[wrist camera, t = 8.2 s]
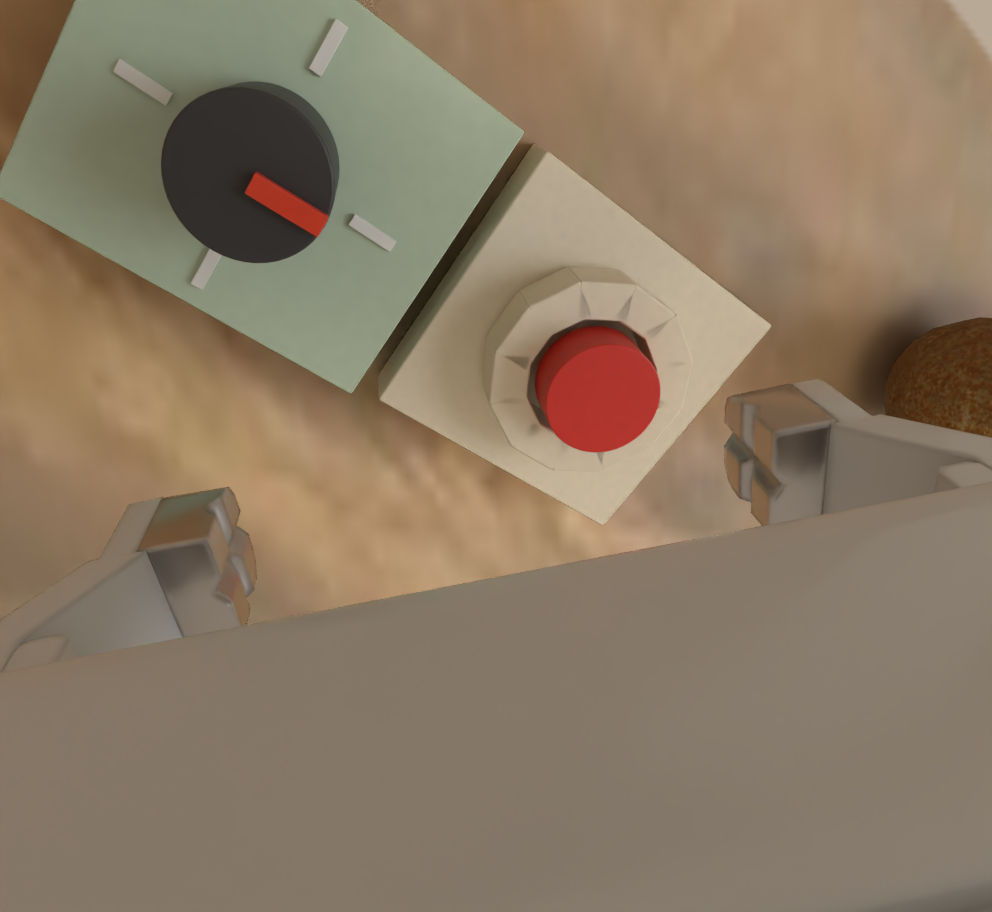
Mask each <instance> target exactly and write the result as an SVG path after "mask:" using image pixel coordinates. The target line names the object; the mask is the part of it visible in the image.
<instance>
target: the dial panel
mask: <svg viewBox="0 0 992 912" xmlns="http://www.w3.org/2000/svg"><path fill="white" fill-rule="evenodd" d="M243 82H266V83H272V84H275V85H279V86H282V87H284V88H286V89H289V90H291V91H293V92H294V93H296V94H298V95H299V96H301V97H302V98H303V99H305V100H306V101H307V102H309V103H310V104H311V105H312V106H313V107H314V108H315V109H316V110H317V112H318V113H319V114H320V115H321V116H322V118H323V119H324V121H325V122H326V124H327V125H328V127H329V129H330V131H331V133H332V135H333V138H334V141H335V144H336V147H337V151H338V156H339V167H340V168H339V180H338V186H337V191H336V195H335V200H334V204H333V208H332V211H331V214H330V217H329V219H328V221H327V223H326V225H325V227H324V229H323V230H322V232H321V233H320V235H319V236H318V237H317V238H316V239H315V240H314V241H313V242H312V243H311V244H310V245H309V246H308V247H306V248H305V249H304V250H302V251H301V252H299V253H297V254H296V255H293V256H291V257H289V258H287V259H283V260H280V261H276V262H270V263H248V262H242V261H237V260H233V259H231V258H228V257H225V256H222V255H220V254H218V253H216V252H214V251H212V250H211V249H209V248H208V247H206V246H205V245H203V244H202V243H201V242H200V241H198V240H197V239H196V238H195V237H194V236H193V235H192V234H191V233H190V232H189V231H188V230H187V229H186V228H185V227H184V226H183V224H182V223H181V222H180V220H179V219H178V218H177V216H176V214H175V213H174V211H173V209H172V207H171V205H170V203H169V201H168V198H167V195H166V192H165V189H164V186H163V180H162V175H161V155H162V148H163V144H164V140H165V137H166V134H167V132H168V129H169V127H170V126H171V124H172V122H173V120H174V119H175V118H176V116H177V115H178V114H179V113H180V111H181V110H182V109H183V108H184V107H185V106H187V105H188V104H189V103H190V102H192V101H193V100H194V99H196V98H197V97H199V96H201V95H203V94H205V93H208V92H210V91H214V90H217V89H220V88H224V87H227V86H231V85H234V84H238V83H243ZM523 134H524V131H523V130H522V129H521V128H519V127H518V126H517V125H515V124H514V123H513V122H512V121H510V120H509V119H508V118H506V117H505V116H504V115H503V114H501V113H500V112H499V111H497V110H496V109H495V108H494V107H492V106H491V105H490V104H489V103H487V102H486V101H485V100H483V99H482V98H481V97H480V96H478V95H477V94H476V93H474V92H473V91H472V90H471V89H469V88H468V87H467V86H465V85H464V84H463V83H462V82H460V81H459V80H458V79H456V78H455V77H454V76H453V75H451V74H450V73H449V72H447V71H446V70H445V69H444V68H442V67H441V66H440V65H439V64H437V63H436V62H435V61H433V60H432V59H431V58H430V57H428V56H427V55H426V54H424V53H423V52H422V51H421V50H419V49H418V48H417V47H415V46H414V45H413V44H412V43H410V42H409V41H408V40H406V39H405V38H404V37H403V36H401V35H400V34H399V33H397V32H396V31H395V30H394V29H392V28H391V27H390V26H389V25H387V24H386V23H385V22H383V21H382V20H381V19H380V18H378V17H377V16H376V15H374V14H373V13H372V12H371V11H369V10H368V9H367V8H365V7H364V6H363V5H362V4H360V3H359V2H358V1H356V0H75V1H74V3H73V6H72V8H71V10H70V13H69V15H68V17H67V19H66V22H65V24H64V26H63V29H62V31H61V33H60V36H59V38H58V40H57V43H56V45H55V47H54V49H53V52H52V54H51V56H50V59H49V61H48V63H47V66H46V68H45V70H44V73H43V75H42V77H41V79H40V82H39V84H38V86H37V89H36V91H35V93H34V96H33V98H32V100H31V103H30V105H29V107H28V109H27V112H26V114H25V116H24V119H23V121H22V123H21V126H20V128H19V130H18V133H17V135H16V137H15V139H14V142H13V144H12V146H11V149H10V151H9V153H8V156H7V158H6V160H5V163H4V165H3V167H2V169H1V172H0V199H2V200H4V201H6V202H8V203H9V204H11V205H13V206H15V207H17V208H18V209H20V210H22V211H24V212H25V213H27V214H29V215H31V216H33V217H34V218H36V219H38V220H40V221H42V222H43V223H45V224H47V225H49V226H51V227H52V228H54V229H56V230H58V231H60V232H61V233H63V234H65V235H67V236H69V237H70V238H72V239H74V240H76V241H77V242H79V243H81V244H83V245H85V246H86V247H88V248H90V249H92V250H94V251H95V252H97V253H99V254H101V255H103V256H104V257H106V258H108V259H110V260H112V261H113V262H115V263H117V264H119V265H120V266H122V267H124V268H126V269H128V270H129V271H131V272H133V273H135V274H137V275H138V276H140V277H142V278H144V279H146V280H147V281H149V282H151V283H153V284H155V285H156V286H158V287H160V288H162V289H164V290H165V291H167V292H169V293H171V294H172V295H174V296H176V297H178V298H180V299H181V300H183V301H185V302H187V303H189V304H190V305H192V306H194V307H196V308H198V309H199V310H201V311H203V312H205V313H207V314H208V315H210V316H212V317H214V318H216V319H217V320H219V321H221V322H223V323H224V324H226V325H228V326H230V327H232V328H233V329H235V330H237V331H239V332H241V333H242V334H244V335H246V336H248V337H250V338H251V339H253V340H255V341H257V342H259V343H260V344H262V345H264V346H266V347H267V348H269V349H271V350H273V351H275V352H276V353H278V354H280V355H282V356H284V357H285V358H287V359H289V360H291V361H293V362H294V363H296V364H298V365H300V366H302V367H303V368H305V369H307V370H309V371H311V372H312V373H314V374H316V375H318V376H319V377H321V378H323V379H325V380H327V381H328V382H330V383H332V384H334V385H336V386H337V387H339V388H341V389H343V390H345V391H346V392H348V393H350V394H351V393H352V392H353V391H354V389H355V388H356V386H357V385H358V383H359V382H360V380H361V379H362V377H363V376H364V374H365V373H366V371H367V370H368V368H369V367H370V365H371V364H372V362H373V361H374V359H375V358H376V356H377V355H378V353H379V352H380V350H381V349H382V347H383V346H384V344H385V343H386V341H387V340H388V338H389V337H390V335H391V334H392V332H393V331H394V329H395V328H396V326H397V324H398V323H399V321H400V320H401V318H402V317H403V315H404V314H405V312H406V311H407V309H408V308H409V306H410V305H411V303H412V302H413V300H414V299H415V297H416V296H417V294H418V293H419V291H420V290H421V288H422V287H423V285H424V284H425V282H426V281H427V279H428V278H429V276H430V275H431V273H432V272H433V270H434V269H435V267H436V266H437V264H438V263H439V261H440V260H441V258H442V257H443V255H444V254H445V252H446V250H447V249H448V247H449V246H450V244H451V243H452V241H453V240H454V238H455V237H456V235H457V234H458V232H459V231H460V229H461V228H462V226H463V225H464V223H465V222H466V220H467V219H468V217H469V216H470V214H471V213H472V211H473V210H474V208H475V207H476V205H477V204H478V202H479V201H480V199H481V198H482V196H483V195H484V193H485V192H486V190H487V189H488V187H489V186H490V184H491V183H492V181H493V180H494V178H495V176H496V175H497V173H498V172H499V170H500V169H501V167H502V166H503V164H504V163H505V161H506V160H507V158H508V157H509V155H510V154H511V152H512V151H513V149H514V148H515V146H516V145H517V143H518V142H519V140H520V139H521V137H522V136H523Z"/></svg>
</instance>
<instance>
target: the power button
mask: <svg viewBox="0 0 992 912" xmlns="http://www.w3.org/2000/svg"><path fill="white" fill-rule="evenodd" d="M535 391H536V395H537V399H538V401H539V404H540V406H541V408H542V410H543V412H544V414H545V417H546V419H547V421H548V423H549V425H550V427H551V429H552V430H553V432H554V433H555V434H556V436H557V437H558V438H559V439H560V440H561V441H563V442H564V443H565V444H567V445H569V446H571V447H572V448H575V449H578V450H581V451H585V452H594V453H595V452H606V451H611V450H615V449H618V448H620V447H623V446H625V445H626V444H628V443H630V442H632V441H633V440H634V439H636V438H637V437H638V436H639V435H641V434H642V433H643V432H644V430H645V429H646V428H647V427H648V426H649V424H650V423H651V421H652V420H653V418H654V416H655V414H656V411H657V409H658V405H659V401H660V381H659V377H658V374H657V372H656V370H655V368H654V366H653V365H652V363H651V362H650V361H649V359H648V358H647V357H646V356H645V355H644V354H643V353H642V352H641V350H640V349H639V348H638V347H637V346H636V345H635V344H634V343H633V342H632V340H631V339H630V338H628V337H627V336H626V335H625V334H623V333H621V332H620V331H617V330H615V329H613V328H609V327H604V326H588V327H582V328H579V329H576V330H573V331H571V332H569V333H567V334H565V335H563V336H562V337H560V338H559V339H558V340H556V341H555V342H554V343H553V344H552V345H551V346H550V347H549V349H548V350H547V351H546V352H545V354H544V355H543V357H542V359H541V361H540V363H539V366H538V369H537V372H536V377H535Z"/></svg>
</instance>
